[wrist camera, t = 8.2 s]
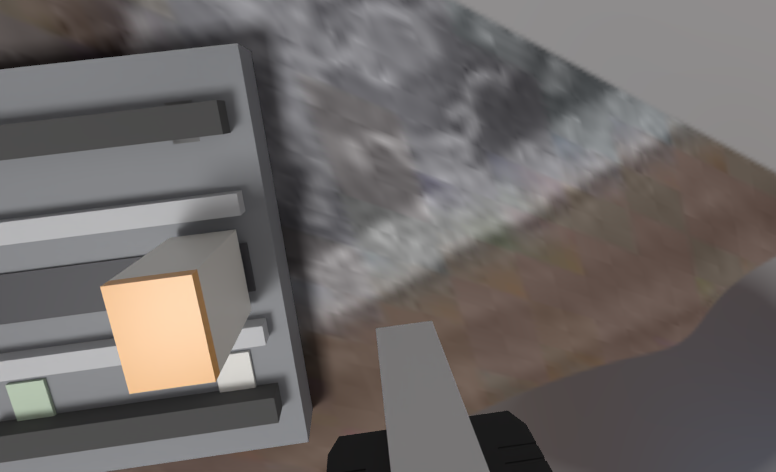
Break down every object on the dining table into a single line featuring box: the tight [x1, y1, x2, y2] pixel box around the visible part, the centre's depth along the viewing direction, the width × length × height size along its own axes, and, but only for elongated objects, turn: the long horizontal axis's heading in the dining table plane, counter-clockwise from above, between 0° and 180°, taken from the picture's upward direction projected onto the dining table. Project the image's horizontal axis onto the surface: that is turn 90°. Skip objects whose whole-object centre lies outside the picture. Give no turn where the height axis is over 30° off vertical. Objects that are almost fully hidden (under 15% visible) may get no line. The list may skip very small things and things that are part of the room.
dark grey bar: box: [0, 100, 231, 161], centre depth 23 cm, size 2×14×4 cm, turn 96°
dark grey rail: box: [0, 383, 283, 463], centre depth 26 cm, size 2×14×4 cm, turn 97°
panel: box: [0, 43, 313, 472], centre depth 25 cm, size 20×16×4 cm
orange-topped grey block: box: [100, 229, 252, 394], centre depth 20 cm, size 4×3×7 cm
